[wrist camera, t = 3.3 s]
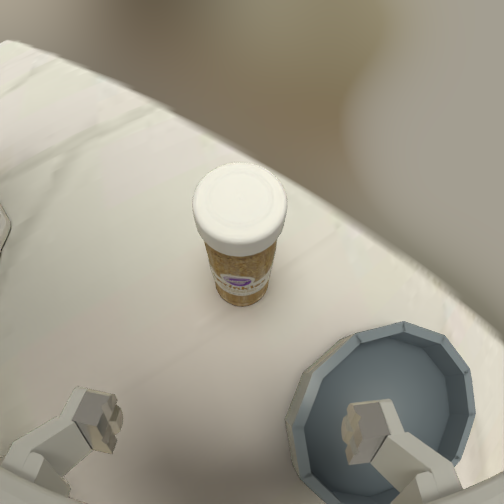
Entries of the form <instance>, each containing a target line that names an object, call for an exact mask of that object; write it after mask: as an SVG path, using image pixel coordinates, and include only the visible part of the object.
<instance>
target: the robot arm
mask: <svg viewBox="0 0 504 504" xmlns="http://www.w3.org/2000/svg"><path fill="white" fill-rule="evenodd" d="M10 226H11V224H10V221H9V219H8V217H7V215H6V214H5V212H4V210H3V208H2V206H1V204H0V251H1V248H2V246H3V244H4V242H5V240H6V238H7V235H8V233H9V230H10ZM116 403H117V398H116V396H115V394H110V393H106V392H101V391H96V390H92V389H88V388H83V387H79V386H77V387H76V388H75V389H74V390H73V392H72V394H71V396H70V398H69V400H68V401H67V403H66V405H65V407H64V409H63V411H62V413H61V415H60V417H57V416H56V417H54V418H53V419H51V420H49V421H48V422H46V423H44V424H43V425H41V426H39V427H38V428H36V429H34V430H33V431H31V432H29V433H28V434H26V435H24V436H23V437H21V438H19V439H17V440H16V441H14V442H13V443H12V445H11V447H10V449H9V451H8V453H7V455H6V457H5V459H4V461H3V463H2V465H1V466H0V504H87V503H84V502H81V501H78V500H75V499H73V498H70V497H68V496H69V493H70V490H71V488H70V486H69V485H68V484H67V483H66V482H65V480H64V479H63V478H62V477H63V476H64V475H65V474H66V473H67V472H68V471H70V470H71V469H72V468H73V467H74V466H76V465H77V464H78V463H79V462H80V461H81V460H83V459H84V458H85V457H86V456H87V455H88V454H89V453H91V452H92V450H95V451H100V452H104V453H109V454H113V451H114V448H115V446H116V443H117V439H116V436H115V435H116V434H117V433H119V432H120V431H121V428H122V424H123V414H122V410H121V408H120V407H119V406H118V405H116ZM347 413H348V414H347V415H346V416H345V417H344V418H343V421H342V426H341V433H342V439H343V441H344V442H345V443H346V444H347V445H348V446H347V448H346V450H345V452H346V457H347V461H348V465H354V464H362V463H369V462H371V464H372V465H373V467H374V468H375V469H376V470H377V471H378V472H379V473H380V474H381V475H382V476H383V477H384V478H385V479H386V480H387V481H388V482H390V483H391V484H392V485H393V486H394V487H395V488H396V489H397V490H398V491H399V492H400V494H399V495H398V496H397V497H396V498H395V499H394V500H393V501H392V502H391V503H390V504H504V471H502V472H500V473H498V474H496V475H494V476H492V477H490V478H488V479H486V480H484V481H482V482H480V483H477V484H475V485H473V486H471V487H468V488H466V489H463V488H462V486H461V483H460V481H459V478H458V476H457V473H456V471H455V468H454V466H453V464H452V462H450V461H449V460H447V459H446V458H444V457H443V456H442V455H440V454H439V453H437V452H436V451H434V450H433V449H432V448H430V447H429V446H427V445H426V444H425V443H423V442H422V441H420V440H419V439H418V438H416V437H415V436H413V435H412V434H411V433H409V432H404V429H403V427H402V424H401V422H400V419H399V417H398V414H397V412H396V409H395V407H394V405H393V402H392V400H391V399H383V400H373V401H365V402H357V403H350V404H349V405H348V407H347Z"/></svg>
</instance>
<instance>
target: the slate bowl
mask: <svg viewBox="0 0 504 504" xmlns="http://www.w3.org/2000/svg"><path fill="white" fill-rule="evenodd" d="M383 399H391V400H392V402H393V405H394V407H395V409H396V412H397V414H398V417H399V419H400V422H401V424H402V427H403V429H404V432H409V433H411V434H412V435H413V436H415V437H416V438H418V439H419V440H420V441H422V442H423V443H425V444H426V445H427V446H429V447H430V448H432V449H433V450H434V451H436V452H437V453H439V454H440V455H442V456H443V457H444V458H446V459H447V460H449V461H450V462H452V464H453V466H454V467H455V466H456V465H457V463H458V462H459V461H460V460H461V457H462V455H463V452H464V449H465V446H466V443H467V440H468V437H469V434H470V431H471V428H472V425H473V421H474V418H475V414H476V411H475V402H474V393H473V386H472V378H471V372H470V368H469V367H468V366H467V364H466V363H465V361H464V360H463V359H462V357H461V356H460V355H459V353H458V352H457V351H456V349H455V348H454V347H453V345H452V344H451V343H450V342H449V340H448V339H447V338H446V336H445V335H442V334H440V333H437V332H434V331H431V330H428V329H425V328H422V327H419V326H416V325H414V324H411V323H408V322H405V321H402V322H399V323H395V324H391V325H387V326H383V327H379V328H375V329H371V330H367V331H363V332H359V333H355V334H353V335H350V336H348V337H345V338H343V339H340V340H339V341H338V342H337V343H336V344H335V345H334V346H333V347H332V348H331V349H329V350H328V351H327V352H326V353H325V354H324V355H323V356H322V357H321V358H319V359H318V360H317V361H316V362H315V363H314V364H313V365H311V366H310V367H309V368H308V369H307V370H306V371H304V372H303V374H302V377H301V380H300V382H299V385H298V388H297V390H296V393H295V395H294V398H293V400H292V403H291V406H290V408H289V411H288V413H287V416H286V418H285V423H286V429H287V435H288V441H289V446H290V452H291V458H292V464H293V466H294V468H295V470H296V472H297V474H298V476H299V478H300V479H301V480H302V481H303V482H304V483H305V484H306V485H307V486H308V487H309V488H310V489H311V490H312V491H313V492H314V493H315V494H316V495H317V496H319V497H320V498H321V499H322V500H323V501H324V502H325V503H326V504H390V503H391V502H392V501H393V500H394V499H395V498H396V497H397V496H398V495H399V494H400V492H399V491H398V490H397V489H396V488H395V487H394V486H393V485H392V484H391V483H390V482H388V481H387V480H386V479H385V478H384V477H383V476H382V475H381V474H380V473H379V472H378V471H377V470H376V469H375V468H374V467H373V465H372V464H371V462H369V463H362V464H354V465H348V461H347V457H346V452H345V450H346V448H347V446H348V445H347V444H346V443H345V442H344V441H343V439H342V433H341V426H342V421H343V418H344V417H345V416H346V415H347V414H348V413H347V407H348V405H349V404H350V403H357V402H365V401H373V400H383Z"/></svg>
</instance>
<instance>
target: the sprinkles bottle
mask: <svg viewBox="0 0 504 504" xmlns="http://www.w3.org/2000/svg"><path fill="white" fill-rule="evenodd" d="M192 208H193V214H194V219H195V223H196V227H197V230H198V232H199V234H200V236H201V237H202V239H203V240H204V242H205V246H206V250H207V254H208V258H209V264H210V267H211V271H212V274H213V277H214V279H215V283H216V289H217V290H218V293H219V294H220V296H221V297H222V298H223V299H224V300H226V301H227V302H229V303H231V304H234V305H236V306H246V305H251V304H253V303H255V302H257V301H258V300H260V299H261V298H262V296H263V295H264V294H265V292H266V290H267V287H268V281H269V276H270V272H271V268H272V264H273V260H274V255H275V251H276V243H277V242H276V241H277V238H278V237H279V235H280V234H281V232H282V229H283V226H284V222H285V217H286V212H287V196H286V192H285V189H284V187H283V185H282V184H281V182H280V181H279V180H278V178H277V177H276V176H275V175H274V174H272V173H271V172H270V171H268V170H267V169H265V168H263V167H261V166H258V165H256V164H251V163H245V162H236V163H229V164H225V165H222V166H219V167H217V168H215V169H213V170H212V171H210V172H209V173H208V174H206V175H205V176H204V177H203V178H202V180H201V181H200V182H199V184H198V185H197V187H196V189H195V192H194V195H193V199H192Z"/></svg>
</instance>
